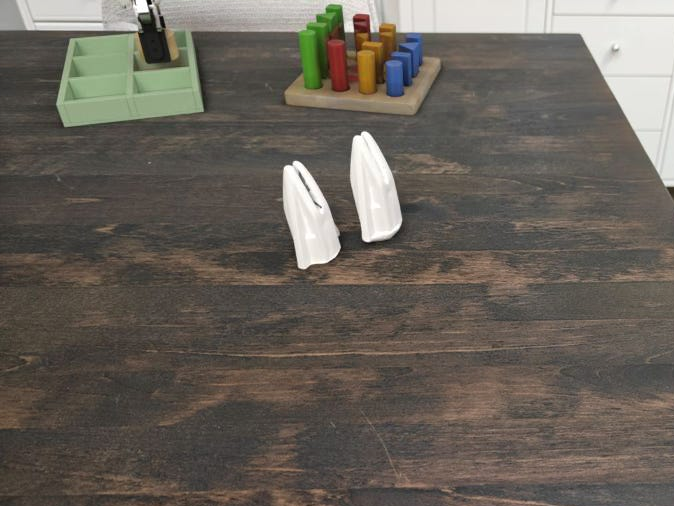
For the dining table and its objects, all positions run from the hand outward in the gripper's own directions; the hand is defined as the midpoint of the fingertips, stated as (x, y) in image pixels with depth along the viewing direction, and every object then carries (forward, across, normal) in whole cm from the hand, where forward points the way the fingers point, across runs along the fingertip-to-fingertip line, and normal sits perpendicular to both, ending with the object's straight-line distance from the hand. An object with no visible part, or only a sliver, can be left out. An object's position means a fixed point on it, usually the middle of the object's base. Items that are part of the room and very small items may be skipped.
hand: (158, 53), depth 100 cm
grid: (+4, 0, -4) cm, 5 cm away
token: (0, 0, 0) cm, 0 cm away
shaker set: (+4, +48, +16) cm, 51 cm away
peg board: (+4, +9, +26) cm, 28 cm away
